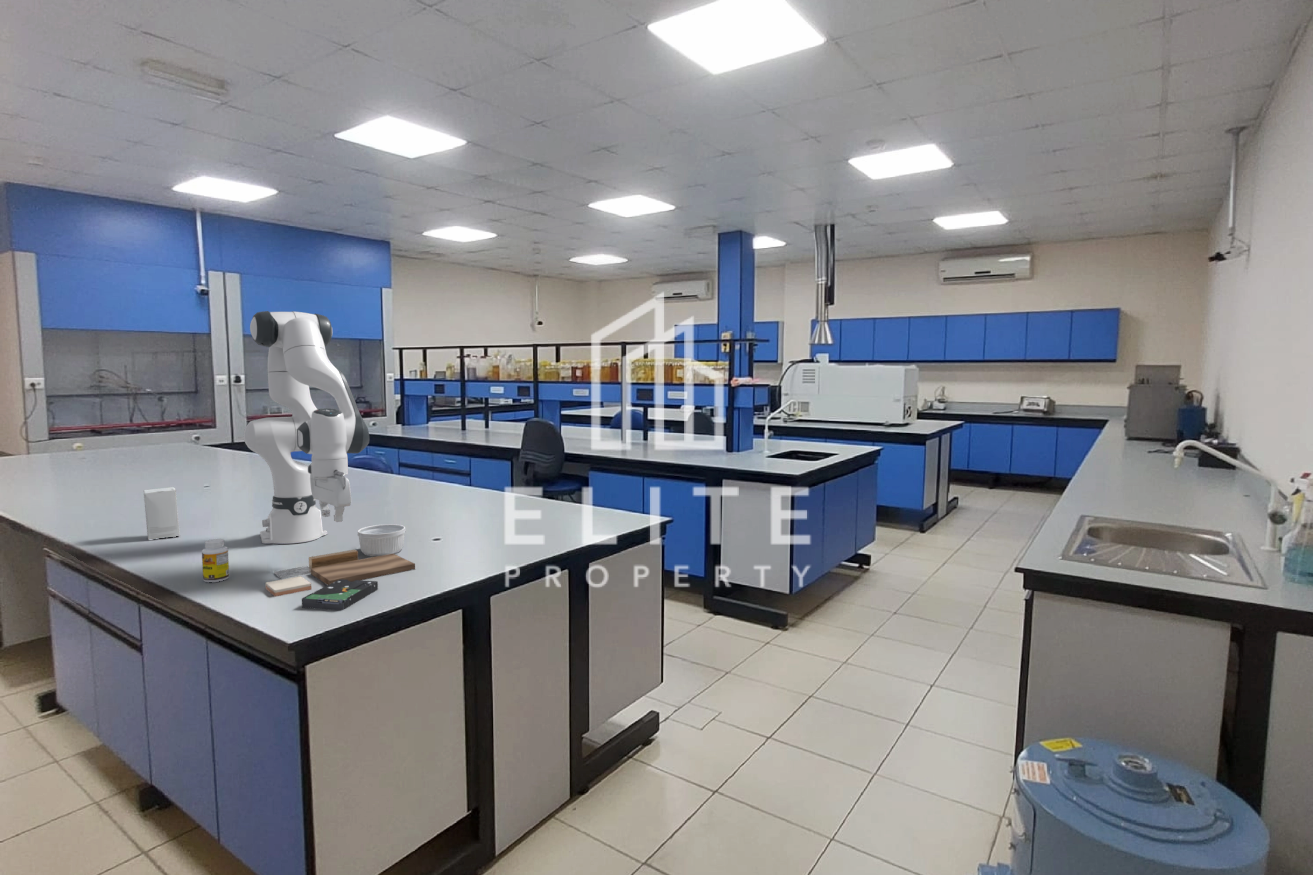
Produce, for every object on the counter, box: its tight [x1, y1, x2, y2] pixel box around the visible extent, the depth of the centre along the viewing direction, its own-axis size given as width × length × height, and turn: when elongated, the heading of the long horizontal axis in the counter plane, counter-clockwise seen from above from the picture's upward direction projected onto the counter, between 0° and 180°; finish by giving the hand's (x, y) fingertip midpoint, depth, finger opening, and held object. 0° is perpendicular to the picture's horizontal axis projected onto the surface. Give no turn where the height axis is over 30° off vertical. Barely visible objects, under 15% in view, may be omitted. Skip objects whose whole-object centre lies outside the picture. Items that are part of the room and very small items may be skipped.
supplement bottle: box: [201, 538, 230, 583], centre depth 169 cm, size 6×6×10 cm
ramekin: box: [357, 523, 406, 557], centre depth 198 cm, size 13×13×7 cm
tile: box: [265, 575, 312, 597], centre depth 163 cm, size 2×8×8 cm
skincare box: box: [143, 486, 181, 540], centre depth 211 cm, size 8×7×16 cm
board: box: [310, 553, 416, 586], centre depth 177 cm, size 14×22×2 cm, turn 135°
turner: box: [273, 549, 359, 580], centre depth 179 cm, size 20×6×3 cm, turn 134°
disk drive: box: [301, 579, 379, 611], centre depth 156 cm, size 10×3×15 cm
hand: (332, 518), depth 181 cm, fingers open, 8 cm apart
